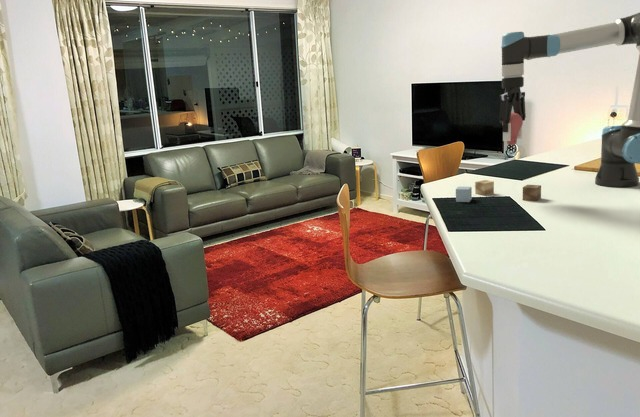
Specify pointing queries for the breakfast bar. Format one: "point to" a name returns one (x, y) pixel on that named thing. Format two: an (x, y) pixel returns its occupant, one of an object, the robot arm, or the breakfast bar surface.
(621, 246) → the breakfast bar surface
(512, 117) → the light bulb
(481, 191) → the oak block
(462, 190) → the slate-blue painted block
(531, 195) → the walnut block
